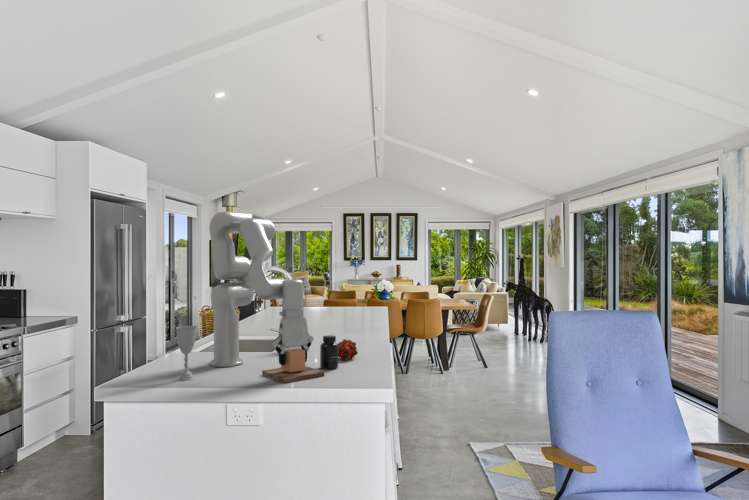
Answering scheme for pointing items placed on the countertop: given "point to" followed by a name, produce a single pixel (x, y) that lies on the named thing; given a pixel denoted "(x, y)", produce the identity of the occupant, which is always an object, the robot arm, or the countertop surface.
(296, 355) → the peach colored cube
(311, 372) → the walnut board
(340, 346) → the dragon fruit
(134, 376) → the countertop surface
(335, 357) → the supplement bottle
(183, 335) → the chalice
